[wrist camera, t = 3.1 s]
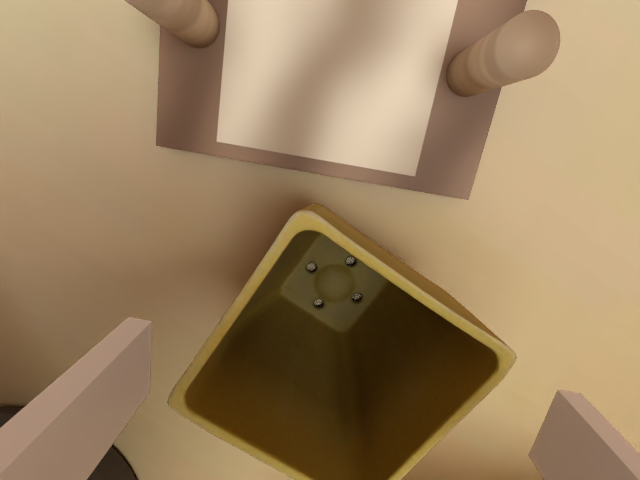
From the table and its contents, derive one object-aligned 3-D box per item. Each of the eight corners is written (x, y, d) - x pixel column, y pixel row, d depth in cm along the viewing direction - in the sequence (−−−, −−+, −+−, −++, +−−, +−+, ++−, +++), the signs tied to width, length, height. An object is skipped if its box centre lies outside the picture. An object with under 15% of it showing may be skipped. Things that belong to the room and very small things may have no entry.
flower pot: (229, 296, 21) (158, 409, 12) (312, 174, 18) (299, 204, 10) (348, 369, 22) (363, 520, 13) (438, 263, 20) (526, 359, 11)
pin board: (165, 145, 18) (89, 147, 12) (178, -170, 15) (81, -374, 9) (461, 196, 19) (521, 222, 13) (545, -97, 15) (681, -244, 9)
